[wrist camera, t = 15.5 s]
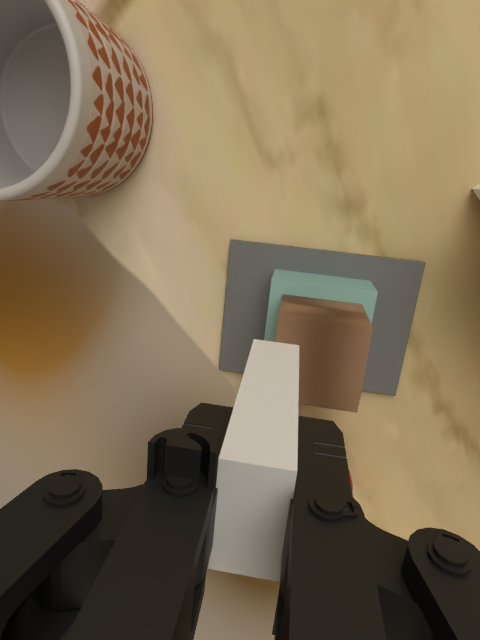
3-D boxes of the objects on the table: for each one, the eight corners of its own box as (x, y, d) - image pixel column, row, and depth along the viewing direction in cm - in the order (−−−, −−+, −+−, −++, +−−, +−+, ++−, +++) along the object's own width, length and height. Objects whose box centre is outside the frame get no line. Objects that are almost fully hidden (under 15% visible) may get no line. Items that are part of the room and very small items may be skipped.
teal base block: (264, 355, 40) (260, 373, 37) (274, 268, 38) (271, 278, 34) (353, 368, 40) (358, 388, 36) (370, 280, 37) (377, 291, 33)
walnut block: (274, 365, 36) (268, 399, 31) (282, 294, 34) (278, 315, 29) (348, 376, 36) (357, 412, 30) (361, 303, 34) (373, 327, 28)
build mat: (219, 368, 42) (218, 369, 41) (231, 239, 38) (230, 240, 38) (394, 393, 40) (395, 395, 40) (424, 262, 37) (425, 262, 36)
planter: (121, -13, 34) (19, -122, 22) (176, 169, 37) (115, 162, 25) (-29, 50, 37) (-191, -15, 25) (36, 215, 40) (-80, 228, 28)
